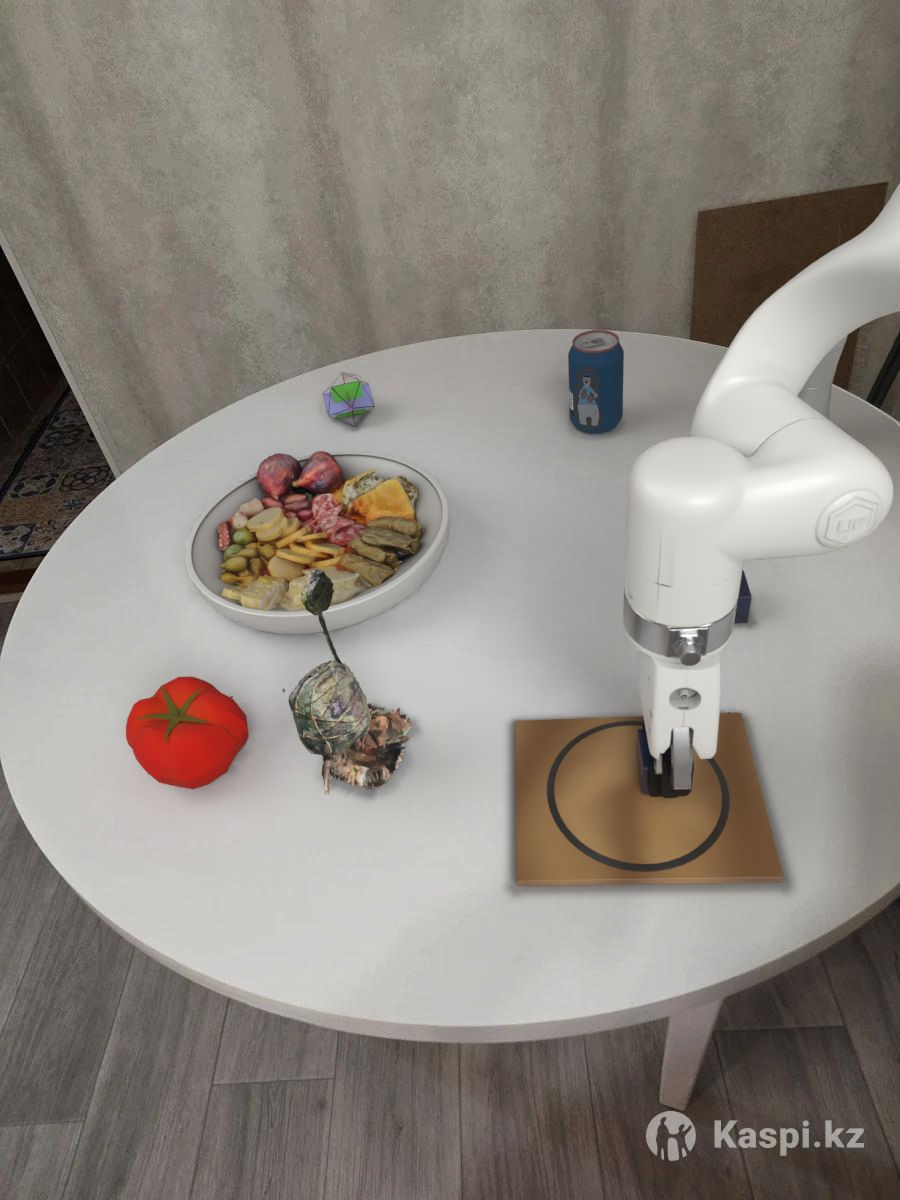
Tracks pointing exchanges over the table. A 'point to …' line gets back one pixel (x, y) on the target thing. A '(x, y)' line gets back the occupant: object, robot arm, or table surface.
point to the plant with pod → (344, 712)
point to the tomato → (186, 733)
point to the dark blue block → (743, 601)
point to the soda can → (596, 382)
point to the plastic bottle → (822, 381)
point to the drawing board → (635, 810)
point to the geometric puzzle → (349, 397)
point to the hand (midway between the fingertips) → (664, 768)
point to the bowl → (318, 539)
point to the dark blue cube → (647, 760)
